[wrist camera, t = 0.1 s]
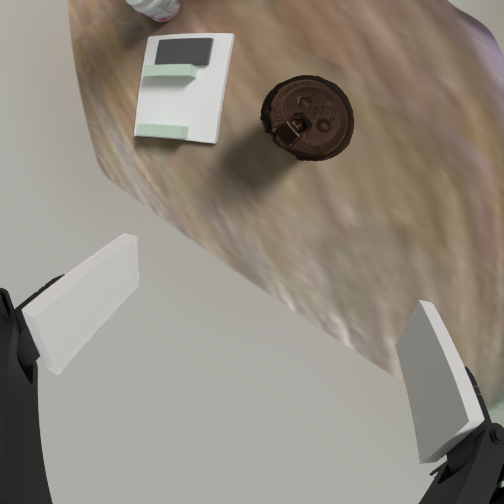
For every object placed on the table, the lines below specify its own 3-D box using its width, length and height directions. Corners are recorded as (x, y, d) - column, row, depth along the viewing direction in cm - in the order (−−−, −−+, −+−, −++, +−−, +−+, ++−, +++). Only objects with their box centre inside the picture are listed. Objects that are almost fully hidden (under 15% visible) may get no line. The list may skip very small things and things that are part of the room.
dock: (151, 38, 31) (139, 33, 28) (234, 35, 30) (227, 28, 27) (137, 135, 38) (124, 137, 35) (217, 143, 37) (208, 144, 34)
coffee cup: (274, 151, 36) (257, 161, 24) (273, 91, 33) (255, 71, 21) (340, 154, 35) (356, 165, 23) (340, 92, 31) (356, 74, 19)
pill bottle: (148, 22, 30) (117, 7, 23) (159, -2, 28) (131, -21, 21) (174, 23, 30) (145, 6, 23) (185, -2, 28) (159, -23, 20)
